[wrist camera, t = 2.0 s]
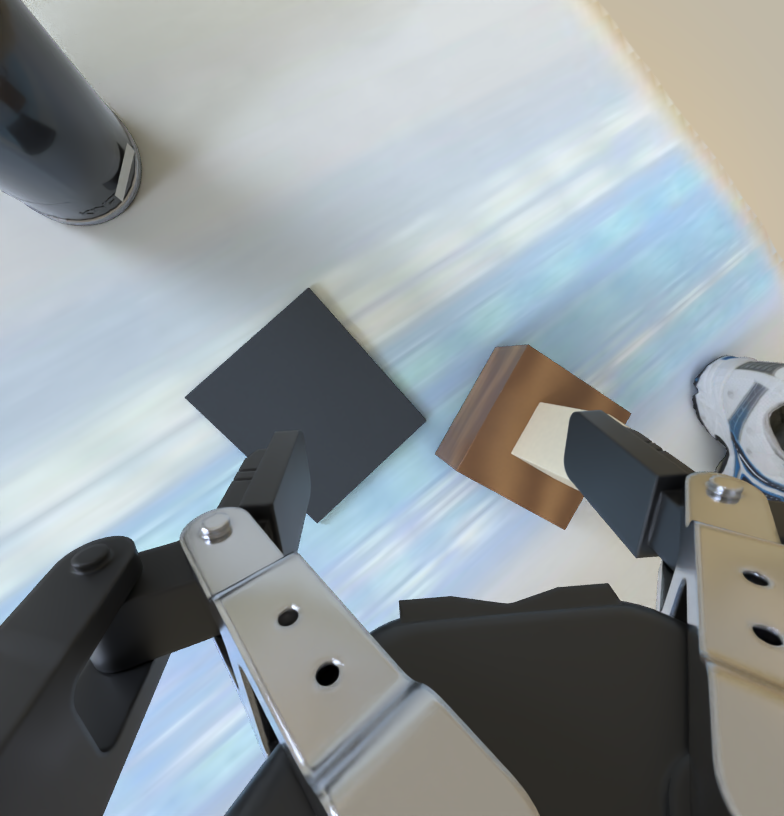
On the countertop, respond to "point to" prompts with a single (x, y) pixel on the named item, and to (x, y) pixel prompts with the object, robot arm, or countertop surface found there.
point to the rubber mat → (310, 399)
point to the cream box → (547, 440)
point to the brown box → (518, 428)
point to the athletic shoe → (746, 419)
